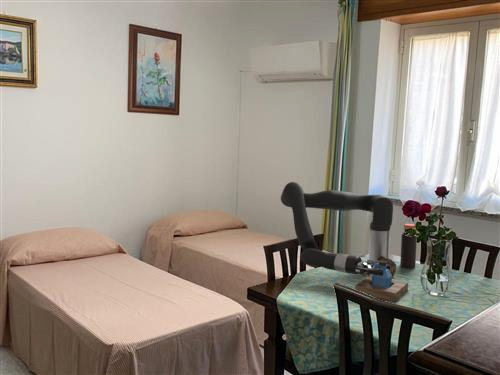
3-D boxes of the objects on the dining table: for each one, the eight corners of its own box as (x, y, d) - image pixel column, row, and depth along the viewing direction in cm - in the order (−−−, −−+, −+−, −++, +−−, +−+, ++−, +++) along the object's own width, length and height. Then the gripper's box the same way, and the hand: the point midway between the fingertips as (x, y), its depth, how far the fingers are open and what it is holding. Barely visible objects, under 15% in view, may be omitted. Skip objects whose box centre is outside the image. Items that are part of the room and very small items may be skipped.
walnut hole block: (369, 283, 207) (369, 275, 207) (407, 290, 199) (408, 282, 198) (354, 294, 194) (355, 285, 194) (395, 302, 185) (395, 293, 185)
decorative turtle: (388, 270, 226) (389, 253, 225) (402, 281, 211) (403, 262, 210) (368, 271, 225) (368, 254, 224) (380, 281, 210) (381, 263, 209)
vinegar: (397, 266, 233) (399, 224, 231) (405, 263, 238) (407, 222, 235) (410, 269, 228) (412, 226, 226) (418, 266, 233) (420, 224, 230)
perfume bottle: (371, 291, 195) (372, 262, 194) (375, 287, 200) (377, 258, 199) (387, 294, 192) (388, 264, 191) (391, 290, 197) (392, 260, 196)
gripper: (341, 258, 197) (381, 265, 188) (354, 251, 208) (393, 257, 200) (340, 277, 198) (380, 284, 189) (354, 268, 209) (392, 275, 201)
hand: (386, 270), depth 194 cm, fingers open, 8 cm apart
